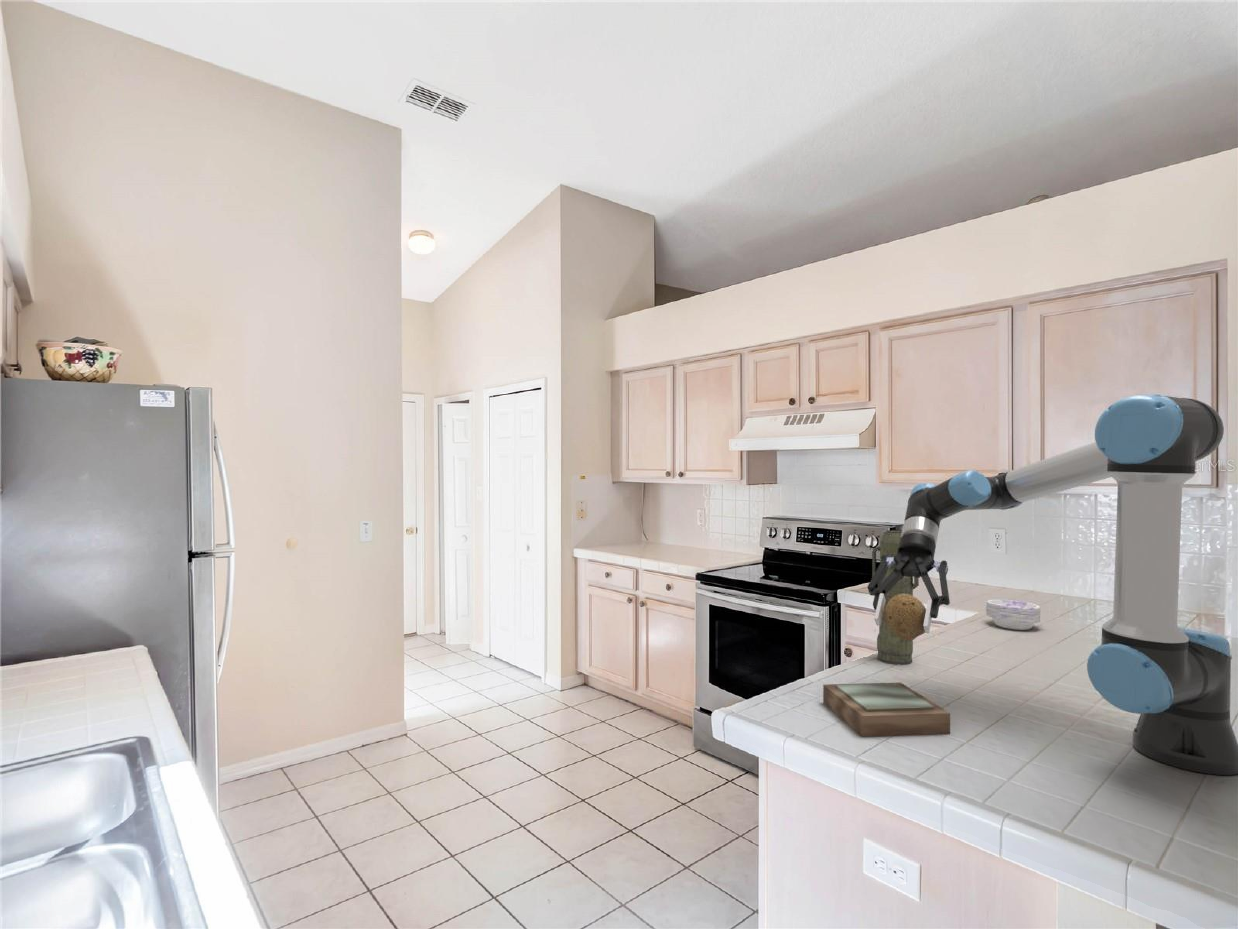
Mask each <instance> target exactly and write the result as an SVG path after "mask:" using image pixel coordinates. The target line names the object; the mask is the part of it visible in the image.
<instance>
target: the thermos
mask: <svg viewBox="0 0 1238 929" xmlns="http://www.w3.org/2000/svg"><path fill="white" fill-rule="evenodd" d="M901 534H902V530H898V529H897V530H892V529H891V530H890V529H889V530H888V529H887V530H885V531H883V532H882V536H881V538H880V540H879V541H880V542H879V546H876V547H875V548H874V549H872V553H871V574H872V575H871V579H872V578H873V576H874V574H875V572H876V570H877V551H878V552H880V553H879V554H880V555H879V559H880V560H881V556H882V555H886V557H894V556H895V555H896V554H897V552H898V547H899V543H900V539H901ZM895 567H896V565H895V563H893V564H892V565H891V566H890V568H888V570H887V573H886V575H885V576H884V578H883V580H882V582H883V581H884V580H885V579H886V578H887V577H888V576H889V575H890V574H891V573H892V572H893V570H894V568H895ZM919 581H920V580H919V578H917V577H913V576H910V577H907V576H904V577H903V578H902V579H901V580H899V581H898V582H897V583H896V584H895V585H894V586H893V587H892V588H891V590H890V591H889V592H888V593H887V594H886V595H885V600H886V602H885V607H886V605H887V603H888V602H889V600H890V599H891V598H893V597H894V596H896V595H898V594H909V595H912V596H913V597H914V590H915V589H916V588H918V587H919V586H920V584H919V583H920V582H919ZM882 582H881V583H882ZM885 607H884V610H885ZM883 613H884V611H883ZM878 628H879V629H878V634H877V637H876V649H877V660H878V661H880V662H882V663H887V664H890V665H897V664H900V666H902V665H904V666H905V665H906V664H907V665H910V664H912V663H913V652H914V640H912V641H904V640H902V639H900V638H899V637H898V636H897V635H896V634H895V633H894V632H893V631H892V630H891V629H890V628H889V627H888V626H887V625H886V623H885V621H884V618H883V615H882V620H881V624H880V626H878Z"/></svg>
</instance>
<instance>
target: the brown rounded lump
mask: <svg viewBox="0 0 1238 929" xmlns="http://www.w3.org/2000/svg"><path fill="white" fill-rule="evenodd" d="M926 608H927V607H926V606H925V605H924V603H923V602H922V601H920V600H919V599H918V598H917V597H915V596H914V595H913V596H912V595H909V594H898V595H896V596H894V597H893V598H891V599H890V600H889V602H888V603H887V605H886V607H885V610H884V613H883V618H884V621H885V623H886V625H887V626H888V627H889V628H890V629H891V630H892V631H893V632H894V633H895V634H896V635H897V636H898V637H899V638H900V639H902V640H904V641H912V640H913V641H914V640H915V639H917V637H920V636H922V635H924V634H926V633H925V630H924V626H923V625H924V619H925V613H926Z"/></svg>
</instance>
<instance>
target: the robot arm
mask: <svg viewBox="0 0 1238 929" xmlns="http://www.w3.org/2000/svg"><path fill="white" fill-rule="evenodd" d="M1224 432H1225V429H1224V423H1223V419H1222V418H1221V415H1220V414H1219V413H1218V411H1217V410H1216V409H1215V408H1214V407H1212V406H1211V405H1209V404H1207V403H1205V402H1203V401H1201V400H1198V399H1193V398H1188V397H1177V396H1169V395H1162V394H1141V395H1140V394H1139V395H1138V394H1137V395H1130V396H1127V397H1123V398H1121V399H1119V400H1117V401H1115V402H1113V403H1111V405H1109V406H1108V407H1107V408H1106V409H1105V410H1104V411H1103V412H1102V413H1101V414H1100V416H1099V417H1098V419H1097V421H1096V424H1095V428H1094V442H1091V443H1089V444H1086V445H1083V446H1080V447H1077V448H1073V449H1070V450H1068V451H1065V452H1062V453H1059V454H1056V455H1052V456H1051V457H1048V458H1044V459H1041V460H1039V461H1036V462H1032V463H1029V464H1027V465H1024V466H1019V467H1018V468H1015V469H1012V470H1010V471H1007V472H1004V473H1001V474H998V475H997V474H996V475H994V476H985V475H984V474H983V473H982V472H978V470H975V469H969V470H966V471H964V472H960V473H957V474H955V475H953V476H952V477H950V478H949V479H947V480H945V481H943V482H941V483H938V485H936V484H934V483H931V482H928V483H927V482H926V483H920V484H919V483H918V484H917V485H915V486H914V487H913V488H912V489H911V492H910V495H909V498H908V501H907V506H906V512H905V517H904V522H903V525H902V530H901V531H902V534H901V539H900V543H899V547H898V552H897V554H896V555H895V556H894V557H886V555H882V556H881V559H880V563H879V565H878V567H876V572H875V574H874V576H873V578H872V577H871V580H870V582H869V583H868V585H867V591H868V593H869V595H870V596H873V602H872V607H873V610H875V614H874V618H873V620H874V622H875V624H876V626H878V627H879V626H880V624H881V620H882V615H883V611H884V607H885V602H886V600H885V595H886V594H887V593H888V592H889V591H890V590H891V588H892V587H893V586H894V585H895V584H896V583H897V582H898V581H899V580H901V579H902V578H903V577H904V576H907V577H910V576H913V578H914V577H917V578H921V579H922V582H923V583H924V585H925V587H926V588H925V589H926V590H927V592H928V595H929V597H930V598H928V599H927V604H926V607H925V608H926V613H925V619H924V625H923V626H924V630H925V633H924V634H930V632H931V631H930V630H931V624H932V619H937V618H938V616H939V615H938V614H939V609H940V606H942V605H946V606H949V605H950V604H951V600H950V594H949V588H948V580H947V575H948V571H949V566H948V561H946V560H945V559H944V560H941V561H935V559H934V558H935V555H936V554H935V553H936V547H937V541H938V538H939V532H940V526H941V521H943V520H944V519H947V518H950V517H951V516H954V515H956V514H959V513H961V512H963V511H975V510H976V511H977V510H978V511H980V510H981V511H983V510H1008V509H1014V508H1017V507H1020V506H1021V505H1022V504H1023V503H1024V502H1025V503H1026V502H1029V501H1032V500H1035V499H1039V498H1042V497H1047V496H1049V495H1053V494H1056V493H1059V492H1064V491H1068V490H1071V489H1074V488H1078V487H1082V486H1085V485H1089V484H1092V483H1096V482H1099V481H1102V480H1103V481H1104V480H1106V479H1110V478H1113V480H1115V481H1116V483H1117V491H1116V492H1117V495H1116V496H1117V497H1116V499H1117V500H1116V519H1115V521H1116V523H1115V524H1116V526H1115V550H1114V552H1115V554H1114V555H1115V556H1114V579H1113V580H1114V581H1113V582H1114V583H1113V584H1114V585H1113V608H1112V609H1113V610H1112V611H1113V612H1112V617H1111V618H1110V619H1109V620H1108V621H1105V622H1104V623H1102V625H1101V626H1102V627H1101V644H1100V645H1099V646H1098V647H1096V648H1095V649H1094V650H1093V651H1092V652H1091V653H1090V654H1089V656H1088V659H1087V662H1086V670H1087V674H1088V679H1089V681H1090V682H1091V684H1092V687H1093V688H1094V689H1095V691H1097V692H1098V693H1099V695H1100V696H1101V697H1102V698H1103V699H1104V700H1105V701H1106V702H1108V703H1109V704H1110V705H1112V706H1114V707H1115V708H1117V709H1120V710H1121V711H1124V712H1128V713H1131V714H1137V715H1138V714H1139V717H1138V721H1137V724H1136V726H1135V727H1134V729H1133V731H1132V746H1133V747H1134V748H1135V750H1136V751H1138V752H1139V753H1141V754H1142V755H1144V756H1147V757H1148V758H1150V759H1153V760H1155V761H1158V762H1160V763H1163V764H1165V765H1169V766H1172V767H1175V768H1178V769H1179V768H1180V769H1182V770H1187V771H1190V772H1191V771H1192V772H1196V773H1197V772H1198V773H1202V774H1208V775H1217V776H1218V775H1219V776H1220V775H1223V776H1232V775H1238V740H1237V738H1236V737H1237V736H1236V734H1235V731H1234V729H1233V726H1232V723H1231V678H1232V677H1231V676H1232V675H1231V672H1232V670H1231V668H1232V665H1231V663H1232V662H1231V660H1232V659H1233V657H1232V655H1231V646H1230V645H1231V644H1230V642H1229V641H1228V639H1227V638H1225V637H1224V636H1222V635H1219V634H1215V633H1211V632H1207V631H1201V630H1196V629H1192V628H1191V629H1190V628H1186V627H1179V626H1178V613H1179V612H1178V611H1179V588H1180V587H1179V582H1180V561H1181V559H1180V557H1181V552H1180V551H1181V531H1182V530H1181V529H1182V528H1181V527H1182V506H1183V505H1182V504H1183V503H1182V502H1183V501H1182V500H1183V485H1185V483H1186V482H1187V481H1189V480H1191V479H1192V478H1194V477H1195V475H1196V462H1197V461H1200V460H1203V459H1204V458H1207V457H1208V456H1209V455H1211V454H1212V453H1213V452H1215V450H1216V449H1217V448H1218V447H1219V445H1221V442H1222V440H1223V438H1224V434H1225V433H1224ZM893 563H895V565H896V567H895V568H894V570H893V572H892V573H891V574H890V575H889V576H888V577H887V578H886V579H885V580H884V581H883V582H882V580H883V578H884V576H885V575H886V573H887V570H888V568H890V566H891V565H892V564H893ZM934 568H935V569H936V572H938V574H939V575H938V576H939V582H940V584H939V585H940V591H941V595H938V593H937V591H936V588H935V586H934V584H933V583H932V580H931V577H930V576H929V572H930V571H932V570H933V569H934ZM881 582H882V583H881Z"/></svg>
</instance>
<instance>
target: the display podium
mask: <svg viewBox="0 0 1238 929" xmlns="http://www.w3.org/2000/svg"><path fill="white" fill-rule="evenodd" d="M822 689H823V690H822V691H823V692H822V693H823V696H822V697H823V698H822V703H823V705H825V706H826V707H827V708H829V709H830V710H831V711H833V713H834V714H836V715H837V716H838V717H839V718H840V719H841V720H842V721H844V722H845V723H846V724H847V725H848V726H849V727H850V728H851V729H853V730H854V731H855V732H856V733H857V734H858V735H860V736H861V737H862V738H867V737H894V736H918V735H921V736H922V735H947V734H948V735H949V734H951V712H950V711H947V710H946V709H944V708H942V707H941V706H940V705H938V704H937V703H934V702H933V701H932V700H930V699H928V698H927V697H925V696H923V695H922V694H920V693H918V692H917V691H916V690H914V689H912V688H910V687H908V686H907V685H905V684H904V683H902V682H899V681H898V682H870V683H869V682H868V683H867V682H866V683H835V684H834V683H831V684H826V683H825V684H823V686H822Z"/></svg>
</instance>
